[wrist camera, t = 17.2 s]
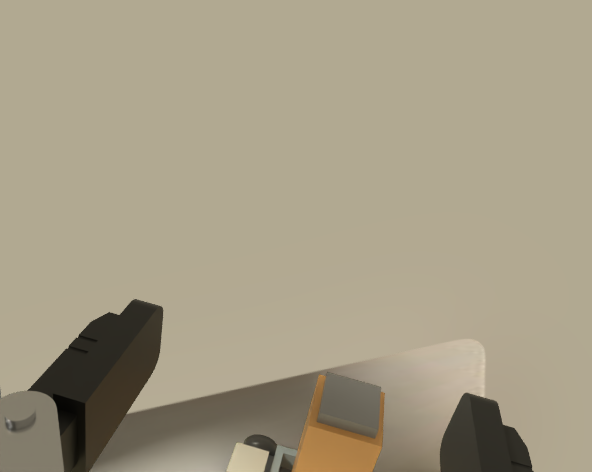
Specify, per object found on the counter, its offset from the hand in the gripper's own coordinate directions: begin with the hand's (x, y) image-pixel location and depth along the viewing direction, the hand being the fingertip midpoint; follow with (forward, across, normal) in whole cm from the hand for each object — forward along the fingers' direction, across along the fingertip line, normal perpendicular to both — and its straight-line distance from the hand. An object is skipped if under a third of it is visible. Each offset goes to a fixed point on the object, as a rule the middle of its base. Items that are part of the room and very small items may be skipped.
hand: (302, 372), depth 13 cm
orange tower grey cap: (+14, -3, +26) cm, 30 cm away
